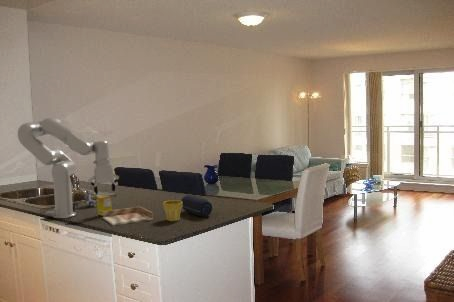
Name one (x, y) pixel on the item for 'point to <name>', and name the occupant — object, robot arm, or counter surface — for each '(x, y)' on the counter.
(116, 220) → the arena
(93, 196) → the passion flower
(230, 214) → the counter surface
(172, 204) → the plant pot
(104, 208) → the supplement box
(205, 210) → the portable speaker
